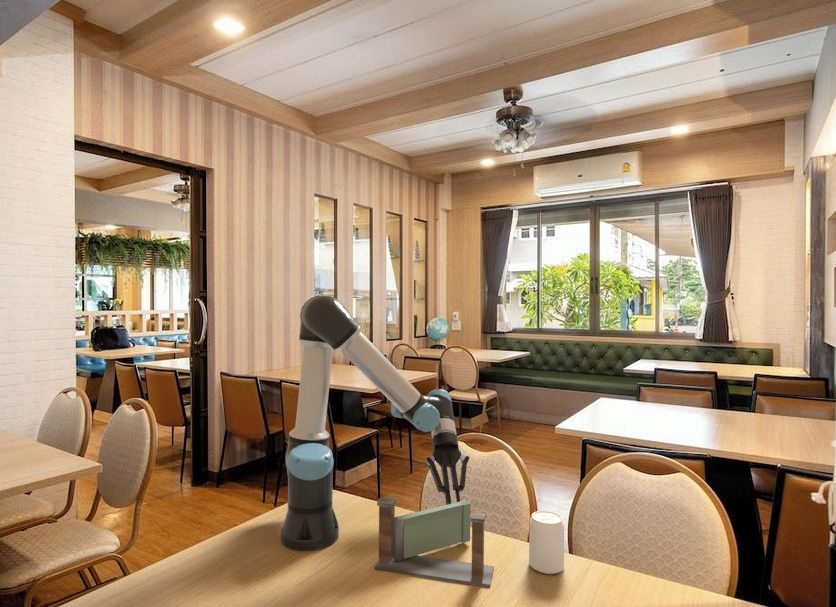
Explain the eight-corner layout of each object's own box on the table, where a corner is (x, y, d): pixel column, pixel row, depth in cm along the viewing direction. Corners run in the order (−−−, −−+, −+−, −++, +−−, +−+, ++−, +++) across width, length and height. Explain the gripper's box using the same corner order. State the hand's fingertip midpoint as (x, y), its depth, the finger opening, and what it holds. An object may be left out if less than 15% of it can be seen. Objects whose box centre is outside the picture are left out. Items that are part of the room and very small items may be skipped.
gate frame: (383, 552, 126) (384, 494, 126) (493, 568, 119) (494, 506, 119) (372, 569, 118) (373, 506, 118) (490, 587, 111) (490, 520, 111)
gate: (392, 557, 121) (392, 517, 121) (464, 537, 132) (465, 500, 132) (397, 562, 119) (397, 521, 119) (470, 540, 130) (470, 503, 130)
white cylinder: (565, 578, 115) (565, 526, 115) (529, 573, 117) (529, 522, 116) (562, 560, 123) (563, 511, 123) (528, 556, 125) (529, 508, 124)
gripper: (463, 442, 155) (476, 520, 138) (421, 444, 153) (429, 522, 137) (467, 430, 149) (481, 509, 133) (424, 431, 148) (432, 511, 131)
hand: (455, 515), depth 135 cm, fingers closed
